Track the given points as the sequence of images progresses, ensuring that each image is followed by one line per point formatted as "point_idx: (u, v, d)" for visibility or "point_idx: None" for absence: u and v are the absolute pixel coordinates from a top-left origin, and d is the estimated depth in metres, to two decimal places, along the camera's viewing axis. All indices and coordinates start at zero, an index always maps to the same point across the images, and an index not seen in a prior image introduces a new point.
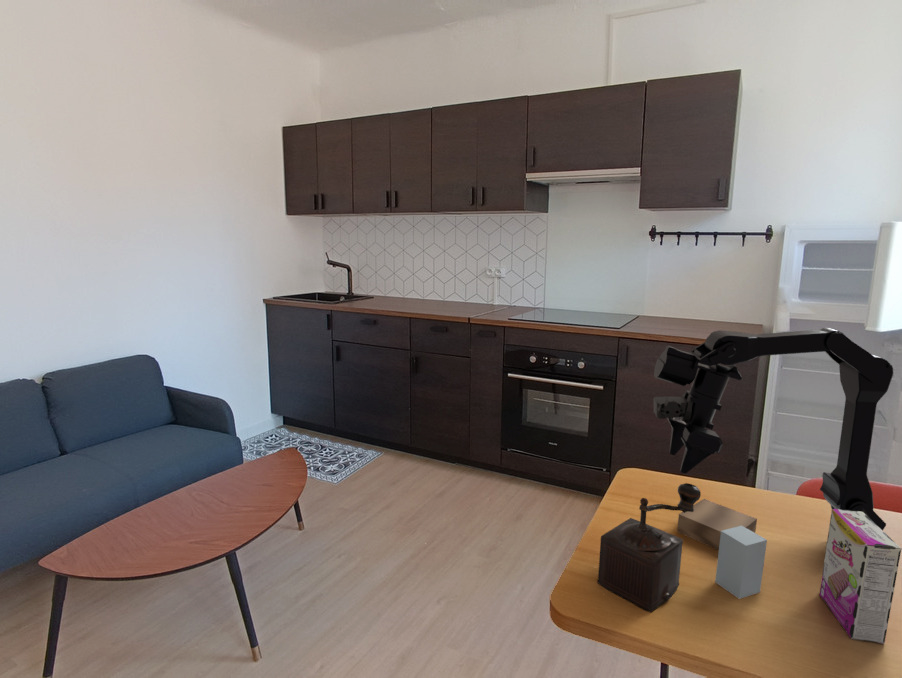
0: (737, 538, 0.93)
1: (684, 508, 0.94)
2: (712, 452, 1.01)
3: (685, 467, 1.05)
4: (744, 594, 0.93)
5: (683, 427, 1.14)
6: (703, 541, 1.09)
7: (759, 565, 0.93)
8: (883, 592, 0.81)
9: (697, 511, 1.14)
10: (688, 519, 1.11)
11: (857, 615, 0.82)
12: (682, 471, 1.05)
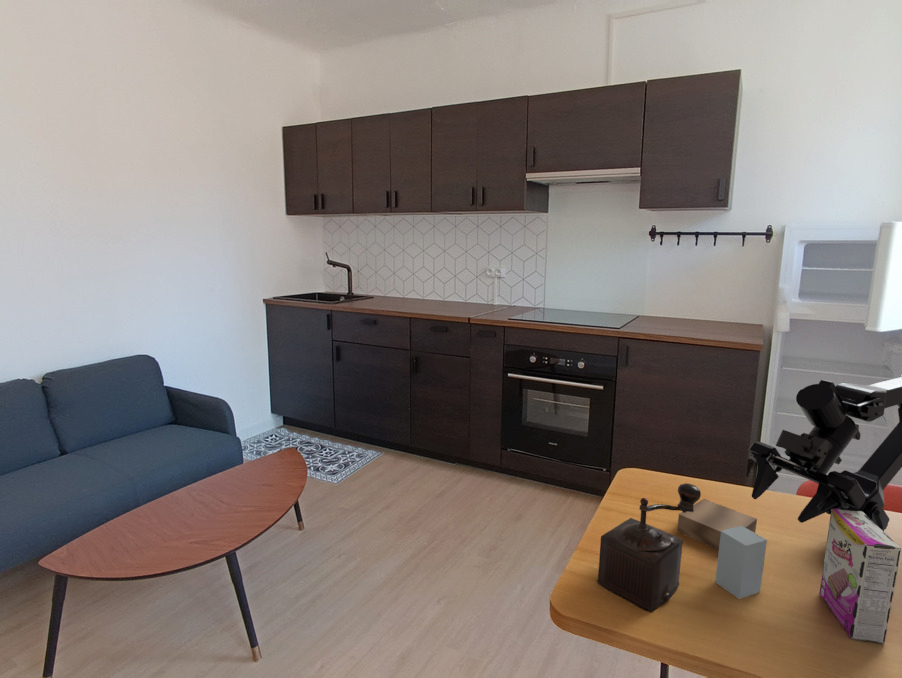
0: (737, 538, 0.93)
1: (684, 508, 0.94)
2: (847, 506, 0.90)
3: (807, 515, 0.91)
4: (744, 594, 0.93)
5: (771, 471, 1.01)
6: (703, 541, 1.09)
7: (758, 565, 0.93)
8: (883, 592, 0.81)
9: (697, 511, 1.14)
10: (688, 519, 1.11)
11: (857, 615, 0.82)
12: (801, 519, 0.91)
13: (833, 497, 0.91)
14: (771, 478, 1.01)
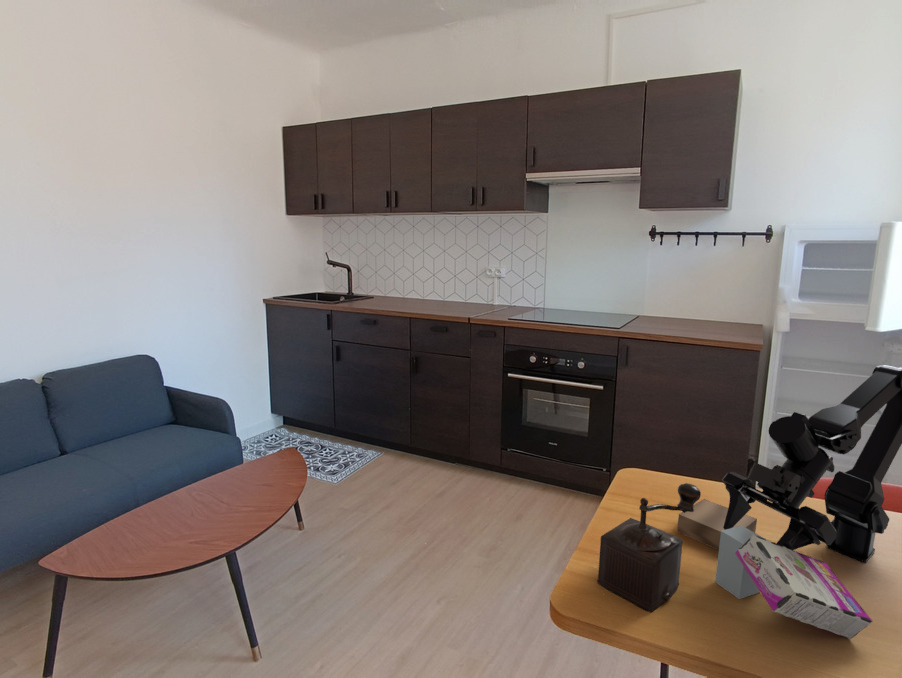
0: (737, 538, 0.93)
1: (684, 508, 0.94)
2: (819, 543, 0.89)
3: None
4: (744, 594, 0.93)
5: (744, 503, 1.00)
6: (703, 541, 1.09)
7: None
8: (825, 612, 0.80)
9: (697, 511, 1.14)
10: (688, 519, 1.11)
11: (833, 631, 0.82)
12: None
13: (805, 533, 0.89)
14: (743, 509, 1.00)
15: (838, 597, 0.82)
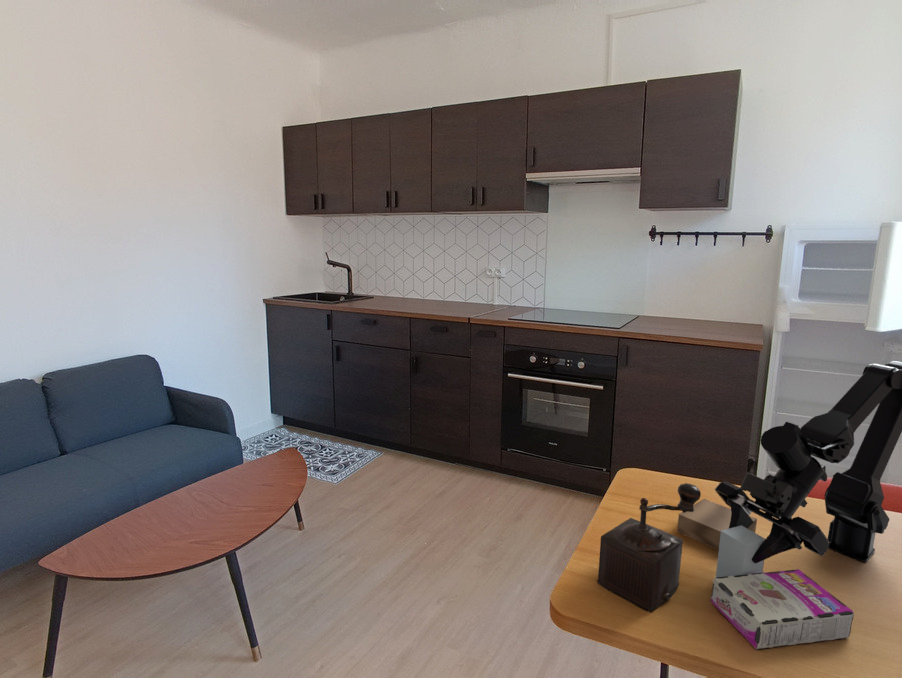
0: (737, 537, 0.93)
1: (684, 508, 0.94)
2: (800, 547, 0.90)
3: (761, 556, 0.91)
4: None
5: (746, 517, 0.98)
6: (703, 541, 1.09)
7: (758, 565, 0.93)
8: (803, 626, 0.81)
9: (697, 511, 1.14)
10: (688, 519, 1.11)
11: (826, 639, 0.82)
12: (755, 560, 0.91)
13: (786, 538, 0.91)
14: (745, 524, 0.98)
15: (811, 603, 0.84)
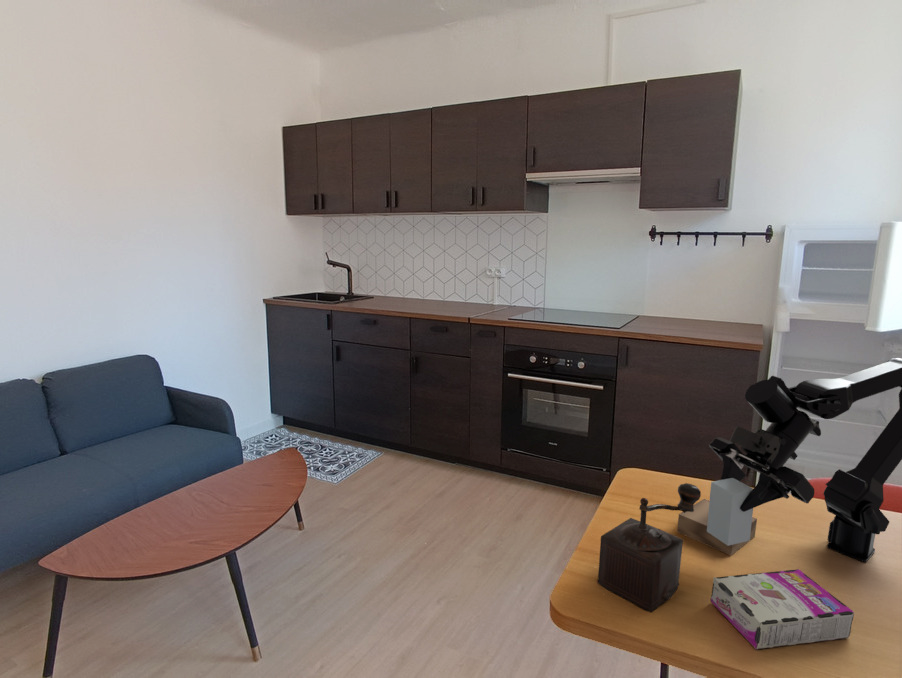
0: (726, 487, 0.97)
1: (684, 508, 0.94)
2: (787, 496, 0.94)
3: (748, 504, 0.95)
4: (733, 541, 0.97)
5: (737, 470, 1.02)
6: (703, 541, 1.09)
7: (747, 514, 0.97)
8: (803, 626, 0.81)
9: (697, 511, 1.14)
10: (688, 519, 1.11)
11: (826, 639, 0.82)
12: (743, 508, 0.95)
13: (774, 487, 0.94)
14: (737, 477, 1.02)
15: (811, 603, 0.84)
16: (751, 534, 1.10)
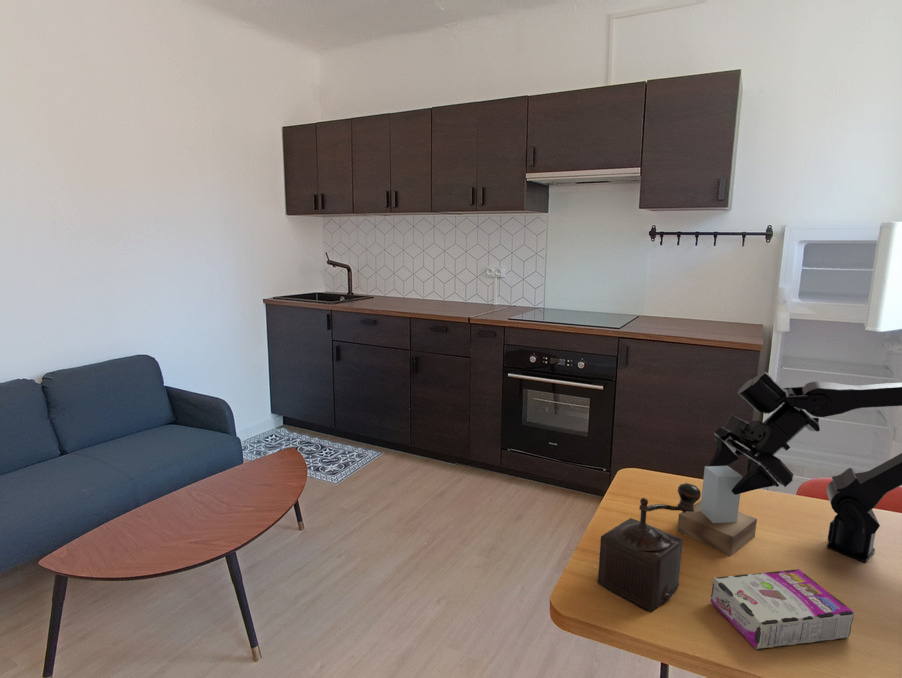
0: (715, 472, 1.09)
1: (684, 508, 0.94)
2: (777, 484, 1.02)
3: (739, 488, 1.05)
4: (719, 520, 1.09)
5: (729, 452, 1.15)
6: (703, 541, 1.09)
7: (734, 497, 1.08)
8: (803, 626, 0.81)
9: (697, 511, 1.14)
10: (688, 519, 1.11)
11: (826, 639, 0.82)
12: (734, 491, 1.05)
13: (764, 475, 1.03)
14: (729, 458, 1.15)
15: (811, 603, 0.84)
16: (751, 534, 1.10)
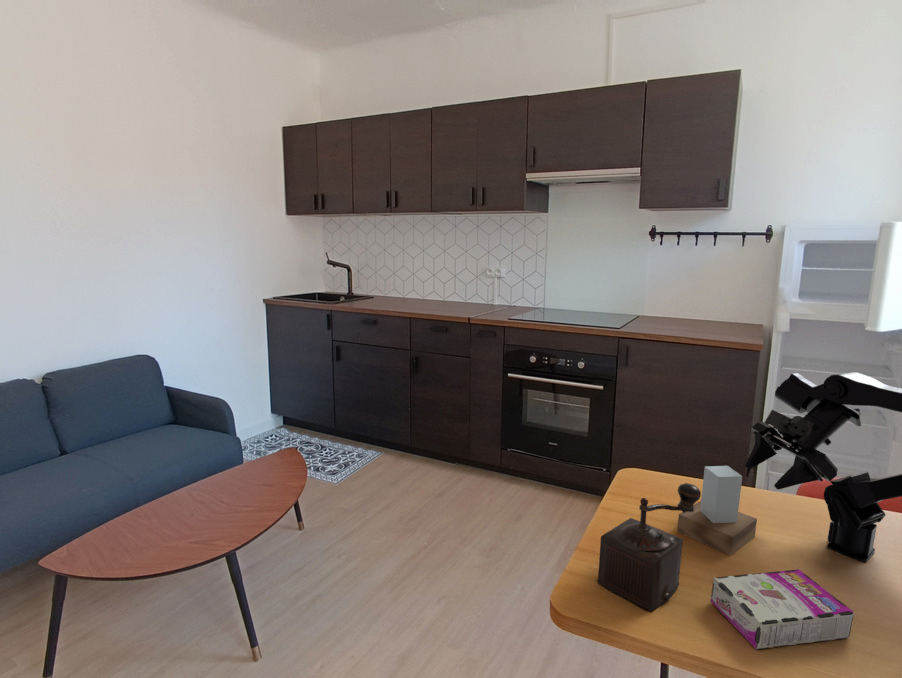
0: (715, 472, 1.09)
1: (684, 508, 0.94)
2: (821, 479, 1.03)
3: (783, 483, 1.05)
4: (719, 520, 1.09)
5: (767, 447, 1.15)
6: (703, 541, 1.09)
7: (734, 497, 1.08)
8: (803, 626, 0.81)
9: (697, 511, 1.14)
10: (688, 519, 1.11)
11: (826, 639, 0.82)
12: (777, 486, 1.06)
13: (808, 470, 1.04)
14: (767, 453, 1.15)
15: (811, 603, 0.84)
16: (751, 534, 1.10)
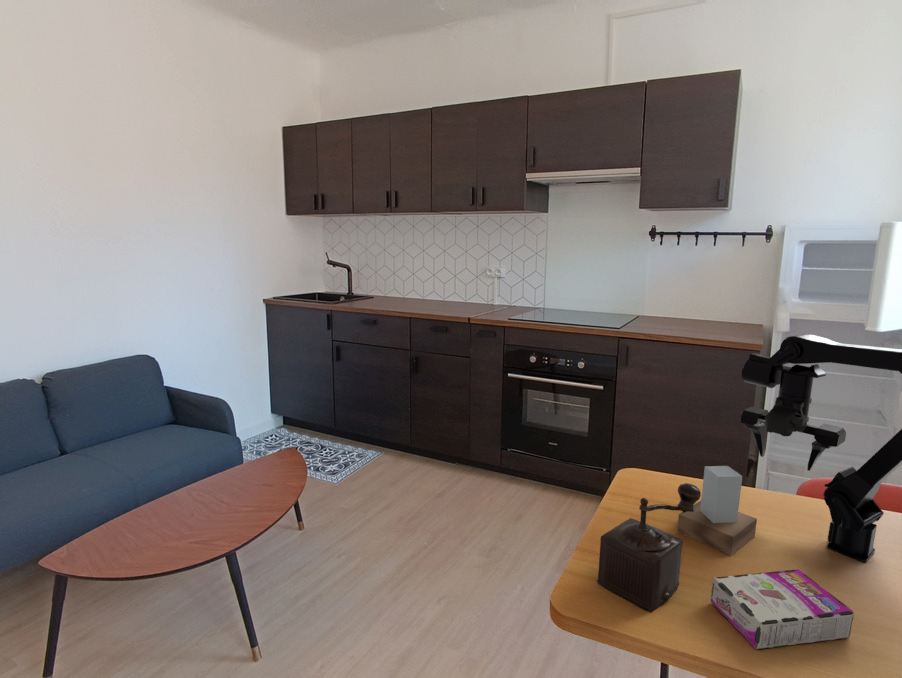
0: (715, 472, 1.09)
1: (684, 508, 0.94)
2: None
3: (813, 464, 1.13)
4: (719, 520, 1.09)
5: (764, 428, 1.20)
6: (703, 541, 1.09)
7: (734, 497, 1.08)
8: (803, 626, 0.81)
9: (697, 511, 1.14)
10: (688, 519, 1.11)
11: (826, 639, 0.82)
12: (810, 469, 1.13)
13: None
14: (765, 431, 1.20)
15: (811, 603, 0.84)
16: (751, 534, 1.10)
